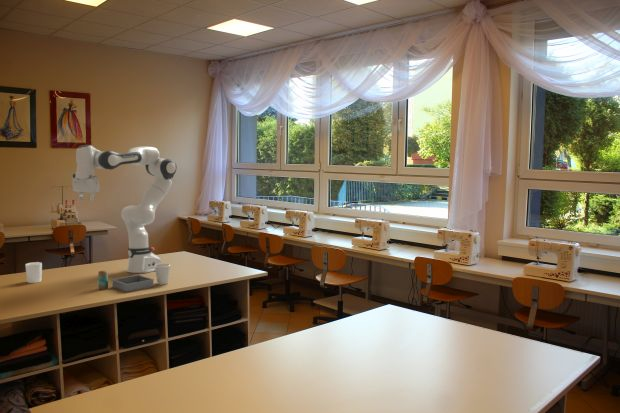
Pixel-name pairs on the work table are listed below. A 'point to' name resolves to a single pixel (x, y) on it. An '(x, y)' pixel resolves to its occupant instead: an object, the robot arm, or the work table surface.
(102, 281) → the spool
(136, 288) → the bin
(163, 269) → the dixie cup
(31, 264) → the white cup
